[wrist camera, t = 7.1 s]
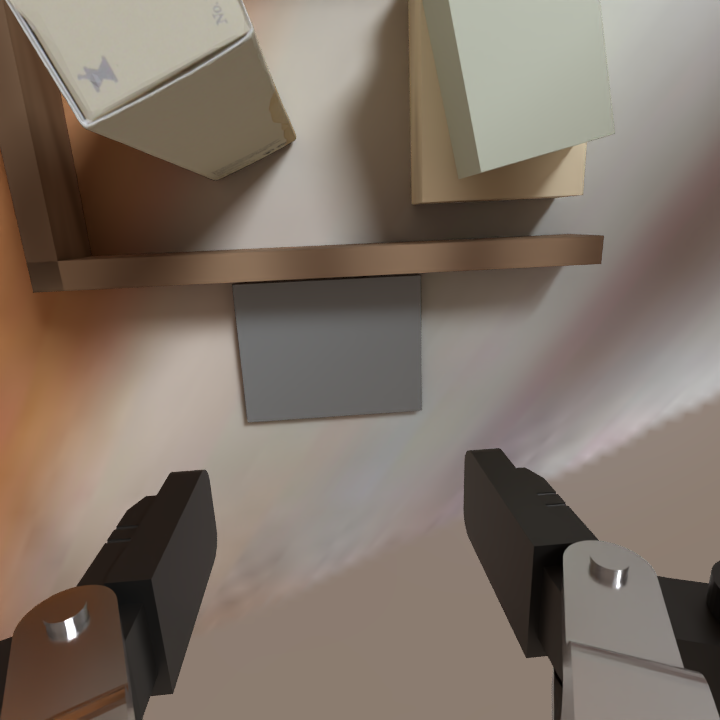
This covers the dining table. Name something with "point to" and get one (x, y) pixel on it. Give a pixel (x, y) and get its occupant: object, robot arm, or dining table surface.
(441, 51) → the offcut upper
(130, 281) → the rack
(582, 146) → the offcut lower
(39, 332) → the dining table surface
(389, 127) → the dining table surface
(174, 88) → the skincare box
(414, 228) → the dining table surface
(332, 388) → the felt mat
